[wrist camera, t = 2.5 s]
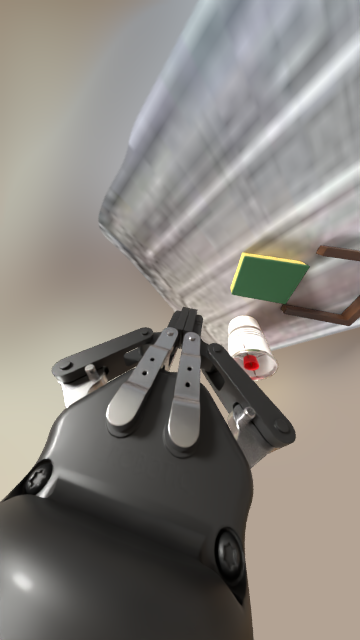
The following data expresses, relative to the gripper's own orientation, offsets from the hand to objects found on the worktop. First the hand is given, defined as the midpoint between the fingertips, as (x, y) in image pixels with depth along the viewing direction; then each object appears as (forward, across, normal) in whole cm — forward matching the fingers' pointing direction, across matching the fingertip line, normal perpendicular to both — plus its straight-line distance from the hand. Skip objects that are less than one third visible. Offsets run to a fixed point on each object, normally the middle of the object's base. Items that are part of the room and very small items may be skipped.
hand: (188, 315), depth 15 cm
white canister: (+18, -12, +13) cm, 26 cm away
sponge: (+18, -12, 0) cm, 22 cm away
